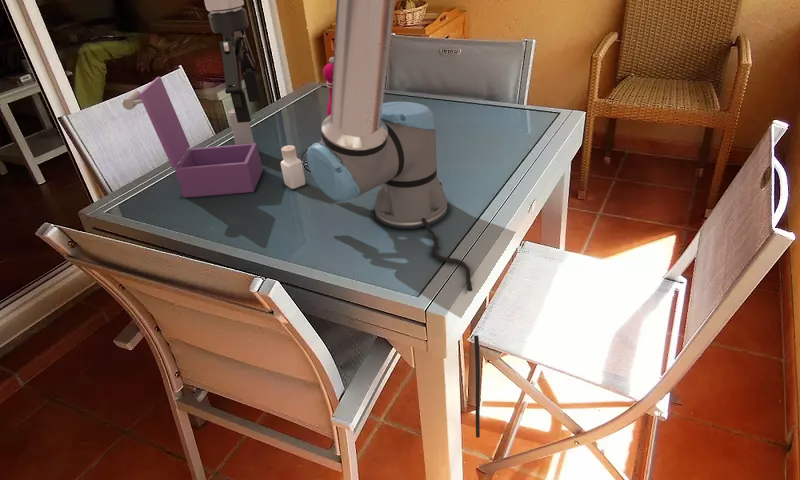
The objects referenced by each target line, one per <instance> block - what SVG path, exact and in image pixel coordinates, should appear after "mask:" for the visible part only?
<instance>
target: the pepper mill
mask: <svg viewBox="0 0 800 480" xmlns="http://www.w3.org/2000/svg"><path fill="white" fill-rule="evenodd" d="M328 62H329V63H327V64H325V65H324V67H323V69H322V75H323V77H324V79H325V80H326V82H325V83H326V87H327V89H328V93H329V99H328V102H327V108H326V115H327V116H326V117H328V116H329V115H331V107H332V86H333V66H334V56H331V57H329V59H328Z"/></svg>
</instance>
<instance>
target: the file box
mask: <svg viewBox="0 0 800 480" xmlns="http://www.w3.org/2000/svg"><path fill="white" fill-rule="evenodd" d="M263 171H264V169H263V165H262V160H261V156H260V152H259V148H258V144H257V142H254V143H252V144H240V145H236V144H230V145H217V146H207V147H206V146H205V147H192V148H189V149H188V150H187V152H186V153H185V155H184V156H183V157H182V159H181V160H180V162H179V163H178V164H177V166H176V167H174V172H175V175H176V178H177V182H178V184H179V188H180V190H181V195H182V197H183V198H198V197H210V196H221V195H233V194H245V193H254V192H255V191H256V189H257V186H258V183H259V181H260V178H261V175H262V173H263Z"/></svg>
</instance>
